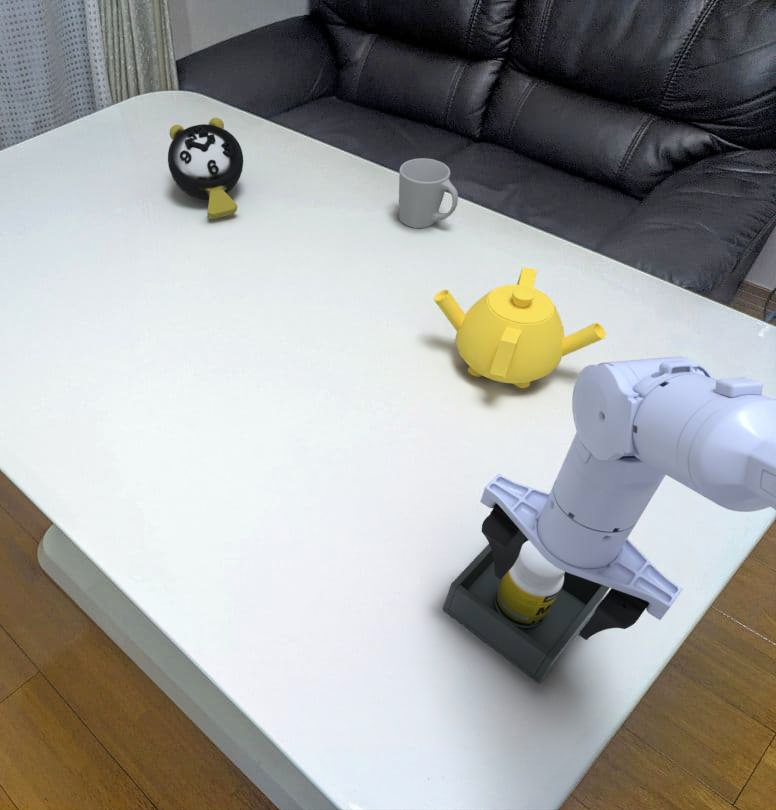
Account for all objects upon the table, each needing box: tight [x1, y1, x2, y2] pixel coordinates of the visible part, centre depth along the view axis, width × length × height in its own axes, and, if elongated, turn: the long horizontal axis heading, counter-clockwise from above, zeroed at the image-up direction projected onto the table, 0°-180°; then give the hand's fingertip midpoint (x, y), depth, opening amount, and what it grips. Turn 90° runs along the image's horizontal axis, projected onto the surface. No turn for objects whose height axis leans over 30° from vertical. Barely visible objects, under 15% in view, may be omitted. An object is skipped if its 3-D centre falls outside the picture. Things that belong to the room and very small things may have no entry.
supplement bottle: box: [495, 540, 565, 628], centre depth 66 cm, size 5×5×8 cm
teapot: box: [433, 266, 606, 389], centre depth 90 cm, size 20×18×11 cm
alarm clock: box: [167, 117, 244, 220], centre depth 121 cm, size 12×15×15 cm
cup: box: [398, 157, 459, 229], centre depth 114 cm, size 8×10×8 cm
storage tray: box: [442, 537, 611, 684], centre depth 68 cm, size 10×10×5 cm
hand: (544, 598), depth 60 cm, fingers open, 7 cm apart
